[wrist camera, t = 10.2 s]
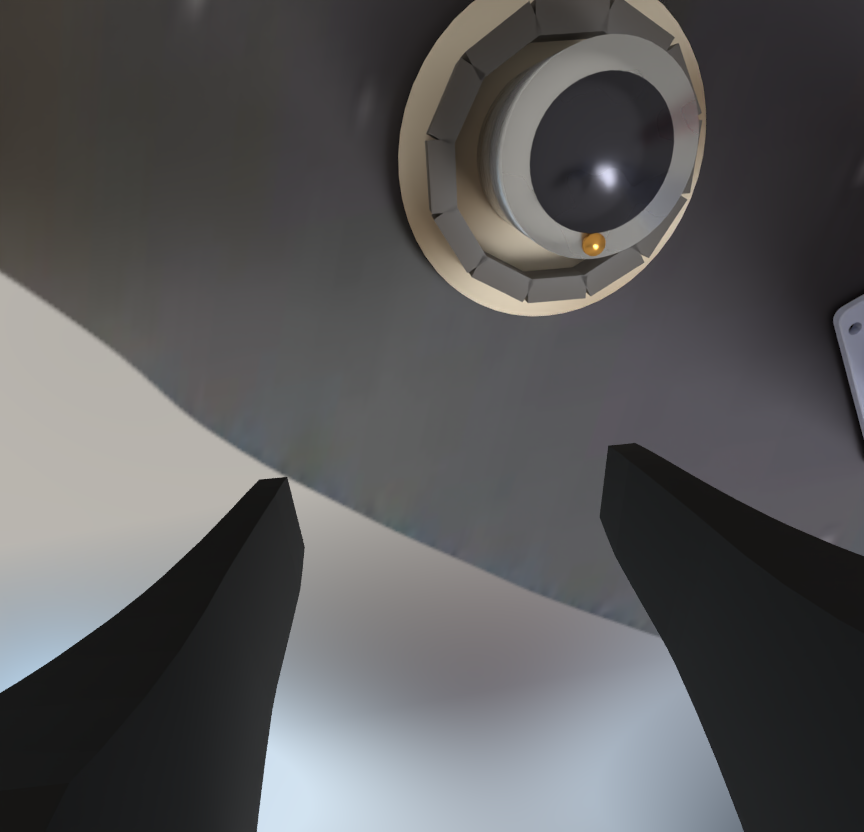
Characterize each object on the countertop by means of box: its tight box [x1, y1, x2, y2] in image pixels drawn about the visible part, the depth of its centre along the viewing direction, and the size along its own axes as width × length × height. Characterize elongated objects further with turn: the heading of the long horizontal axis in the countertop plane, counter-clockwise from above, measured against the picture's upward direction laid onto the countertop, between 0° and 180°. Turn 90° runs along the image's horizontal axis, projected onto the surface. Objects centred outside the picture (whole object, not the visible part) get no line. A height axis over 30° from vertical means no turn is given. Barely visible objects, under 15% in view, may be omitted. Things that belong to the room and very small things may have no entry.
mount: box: [398, 0, 706, 316], centre depth 16 cm, size 10×10×2 cm
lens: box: [477, 34, 699, 259], centre depth 14 cm, size 5×5×4 cm
